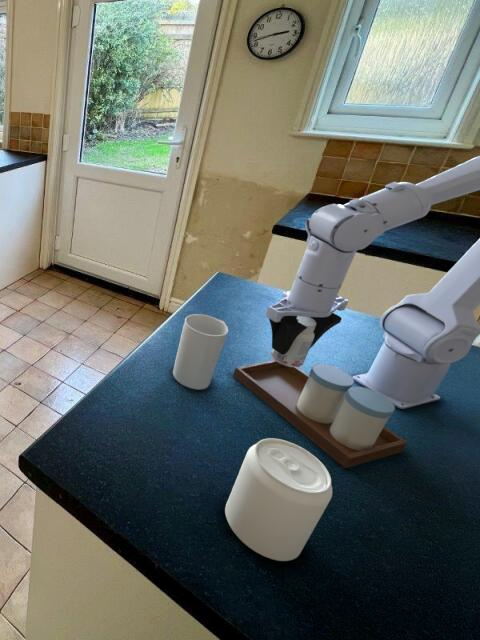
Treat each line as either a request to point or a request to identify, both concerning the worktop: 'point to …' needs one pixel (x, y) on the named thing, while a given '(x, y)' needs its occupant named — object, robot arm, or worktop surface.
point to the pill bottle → (297, 345)
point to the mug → (199, 350)
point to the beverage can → (278, 498)
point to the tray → (282, 396)
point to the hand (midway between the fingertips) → (290, 348)
